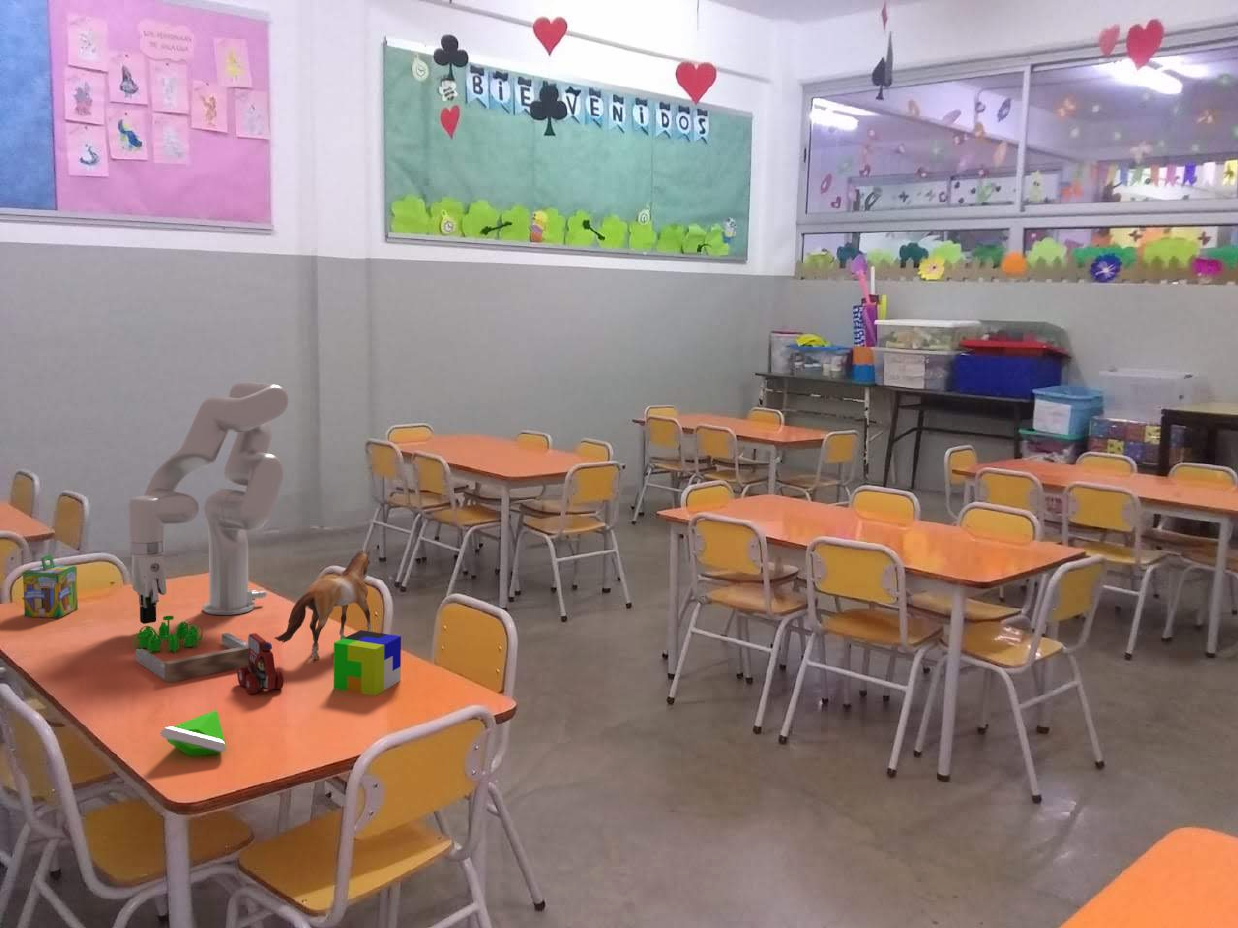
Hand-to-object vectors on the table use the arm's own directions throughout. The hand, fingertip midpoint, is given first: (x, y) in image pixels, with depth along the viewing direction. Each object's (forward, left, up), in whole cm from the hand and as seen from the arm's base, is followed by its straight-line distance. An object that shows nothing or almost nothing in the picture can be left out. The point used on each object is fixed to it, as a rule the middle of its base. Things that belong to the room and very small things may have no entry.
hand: (148, 621), depth 253 cm
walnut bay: (0, +29, -2) cm, 29 cm away
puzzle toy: (-21, +64, -3) cm, 68 cm away
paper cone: (+18, +70, -3) cm, 72 cm away
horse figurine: (-27, +35, -2) cm, 45 cm away
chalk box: (+13, -29, -2) cm, 32 cm away
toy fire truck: (-3, +52, -2) cm, 53 cm away
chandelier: (0, +13, -3) cm, 14 cm away
